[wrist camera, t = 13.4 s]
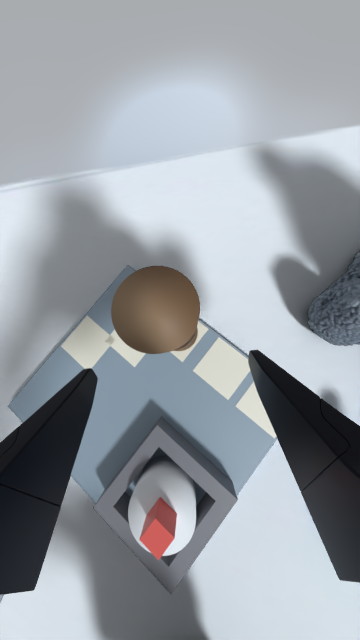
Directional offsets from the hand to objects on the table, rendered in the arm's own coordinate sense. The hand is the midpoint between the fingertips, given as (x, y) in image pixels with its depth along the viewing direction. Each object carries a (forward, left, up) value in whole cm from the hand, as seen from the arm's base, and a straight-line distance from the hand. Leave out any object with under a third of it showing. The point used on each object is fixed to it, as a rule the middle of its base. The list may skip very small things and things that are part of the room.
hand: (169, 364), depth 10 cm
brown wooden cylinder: (+2, +2, -9) cm, 9 cm away
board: (-6, 0, -10) cm, 12 cm away
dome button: (-11, -7, -9) cm, 15 cm away
